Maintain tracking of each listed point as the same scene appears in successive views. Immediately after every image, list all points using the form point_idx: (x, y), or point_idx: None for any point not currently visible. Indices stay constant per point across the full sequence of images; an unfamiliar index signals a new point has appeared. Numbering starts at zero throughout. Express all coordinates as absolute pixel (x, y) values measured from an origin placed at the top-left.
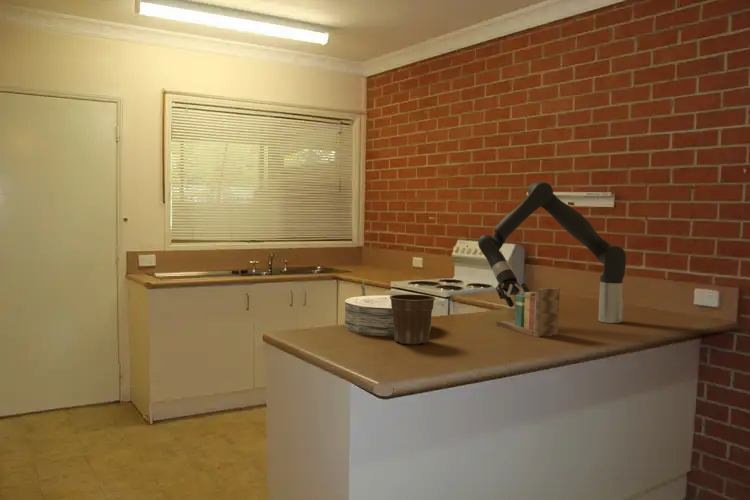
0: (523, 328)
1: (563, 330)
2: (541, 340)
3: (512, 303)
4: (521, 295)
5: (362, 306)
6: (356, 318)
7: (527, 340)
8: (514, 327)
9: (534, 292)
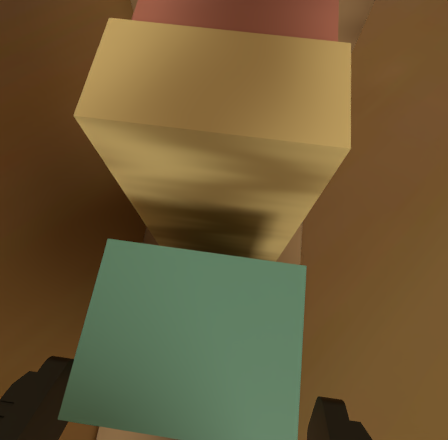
0: (287, 257)
1: (34, 196)
2: None
3: (342, 406)
4: (204, 384)
5: None
6: None
7: (402, 120)
8: None
9: (198, 76)
